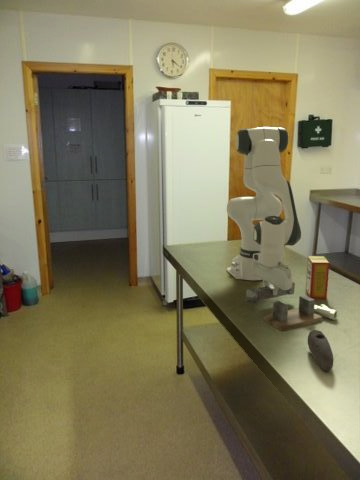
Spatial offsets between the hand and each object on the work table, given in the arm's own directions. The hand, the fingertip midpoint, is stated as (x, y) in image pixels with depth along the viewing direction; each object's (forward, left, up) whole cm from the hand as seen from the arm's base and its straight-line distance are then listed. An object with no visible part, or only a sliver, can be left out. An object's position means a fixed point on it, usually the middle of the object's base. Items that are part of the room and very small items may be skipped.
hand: (270, 292), depth 146 cm
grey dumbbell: (0, 0, -2) cm, 2 cm away
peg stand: (+14, 0, -6) cm, 15 cm away
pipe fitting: (+16, +13, -6) cm, 22 cm away
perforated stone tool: (+39, -11, -6) cm, 41 cm away
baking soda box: (-1, +25, -6) cm, 25 cm away
